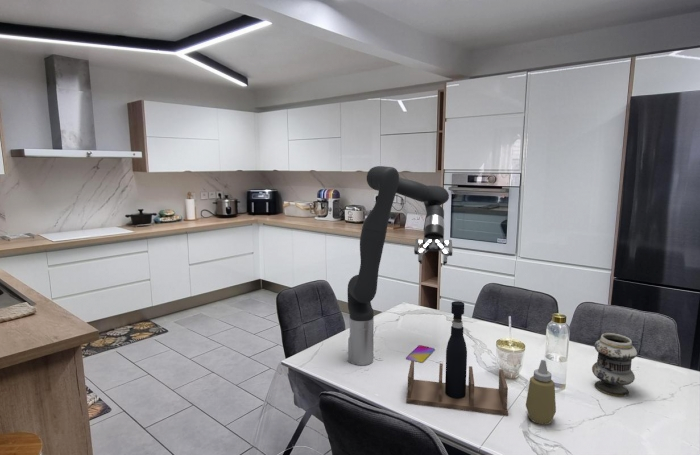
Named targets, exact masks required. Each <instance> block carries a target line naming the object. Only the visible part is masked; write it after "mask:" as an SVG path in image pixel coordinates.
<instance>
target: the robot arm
mask: <svg viewBox="0 0 700 455" xmlns="http://www.w3.org/2000/svg"><path fill="white" fill-rule="evenodd" d="M366 183H367V185H368V186H369V187H370V188H371V189H372V190H375V191H378V194H377V198H376V202H375V204H374V205H373V208H372V209H371V211H370V212H369V213H368V215H367V216H366V218H365V219H364V220H363V224H362V228H361V231H360V232H361V233H360V237H359V238H360V239H359V253H360V254H359V255H360V265H359V270H358V274H355V275H354V276H352V277H351V278H350V279H349V281H348V284H347V308H348V313H349V336H348V339H347V343H348V344H347V349H348V350H347V353H348V354H347V362H348V363H350V364H351V363H352V364H354V365H357V366H367V365H370V364H372V363H373V362H374V337H375V336H374V334H375V333H374V324H375V322H374V318H375V317H374V309H373V306H372V302H371V301H373V299H374V298H375V296H376V294H377V292H378V291H377V289H378V279H379V272H380V271H379V270H380V264H381V260H382V255H383V250H384V245H385V241H386V236H387V230H388V224H389V221H390V216H391V211H392V207H393V203H394V200H395V197H396V194H398V195H401V196H403V197H405V198H409V199H412V200H414V201H417V202H421V203H423V206H424V208H425V211H426V216H425V217H426V218H425V223H424V231H423V232H424V236H423V239H419V238H415V242H414V247H413V248H414V249H413V252H414V255H417V261H418V263H419V264H421V265H422V264H423V255H424V254H426V253H427V252H436V253H437V252H439V253H440V254H441V255H443V258H442V260H443V261H442V262H443V263H442V265H443V266H446V265H447V264H448V257H449V256H450V257H452V256H453V240H452V239H448V240H445V239H444V238H445V210H444V208H443V207H442V205H444V204H445V203H447V202H448V201H449V199H450V194H449V191H448V190H447V189H446V188H445V187H443V186H439V185H428V184H427V185H426V184H424V183H421V182H419V181H414V180H413V179H412V180H410V179H406V178H402V177H400V174H399V171H398V170H397V168H395V167H394V166H386V165H385V166H383V165H379V166H377V165H376V166H373V167H371V168H370V169H369V170H368V171H367V174H366ZM421 245H422V246H421ZM420 246H421V248H420V249H419V247H420ZM445 246H446V247H447V248H448V251H447V249H446V248H445Z"/></svg>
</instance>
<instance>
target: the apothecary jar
mask: <svg viewBox="0 0 700 455" xmlns="http://www.w3.org/2000/svg"><path fill="white" fill-rule="evenodd" d="M632 342H633V341H632V339H631V338H629V337H628V336H625V335H622V334H618V333H614V332H612V333H611V332H606V333H602V334H601V336H600V338H599V339H597V340H596V341H595V343H594V349H595V351H596V352H597V360H596V362H595V363H594V364H593V365H592V367H591V371H592V374H593V375H594V376H595V377H596V378H597V379H598V380H597V381H595V383H594V387H595V388H596V389H597V390H598V391H600V392H601V393H604V394H606V395H609V396H613V397H614V396H615V397H624V396H629V395H630V391H629V389H628V388H627V387H626V386H629V385H631V384H633V383H634V381H635V379H636V378H635V372H633V371H632V361H633V360H634V359H635V358H636V357H637V355H638V352H637V349H636V348H635V346H633V343H632Z"/></svg>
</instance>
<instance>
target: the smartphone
mask: <svg viewBox="0 0 700 455" xmlns="http://www.w3.org/2000/svg"><path fill="white" fill-rule="evenodd" d="M435 351H436V348H434V347H430V346H425V345H421V344H419V345H417V347H415V348H414V349H413V350H412V351H411V352H410V353H409V354H408V355H407V356H406V357H405V360H407V361H410V362H411V360H412V361H414V363H419V364H423V363H425V362H426V360H428V358H430V356H432V355H433V353H434V352H435Z"/></svg>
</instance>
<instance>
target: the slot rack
mask: <svg viewBox="0 0 700 455" xmlns="http://www.w3.org/2000/svg"><path fill="white" fill-rule="evenodd" d="M443 365H444V364H443V363H439V370H438V372H439V373H438V381H430V380H422V379H415V362H414V361H412V360H411V361H410V364H409V369H408V376H407V394H406V400H405V401H406V404H410V405H417V406H426V407H434V408H443V409H449V410H457V411H465V412H474V413H481V414H488V415H490V414H491V415H497V416H505V417H508V416H509V410H508V394H509V393H508V391H509V388H508V383H507V380H506V377H505V372H504V370H503V369H501V368H499V371H498V372H499V373H498V388H495V387H486V386H476V385H475V378H474V371H473V366H470V365H469V366H468V384H466V395H465V397H463V398H460V399H455V398H451V397H449V396H447V395H446V393H445V382H443V372H444V370H443V367H444V366H443Z"/></svg>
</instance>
